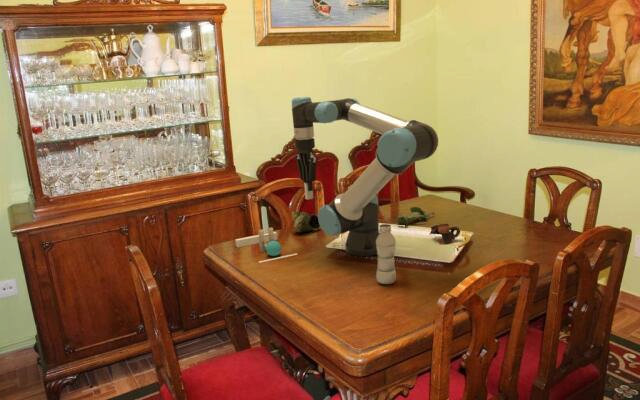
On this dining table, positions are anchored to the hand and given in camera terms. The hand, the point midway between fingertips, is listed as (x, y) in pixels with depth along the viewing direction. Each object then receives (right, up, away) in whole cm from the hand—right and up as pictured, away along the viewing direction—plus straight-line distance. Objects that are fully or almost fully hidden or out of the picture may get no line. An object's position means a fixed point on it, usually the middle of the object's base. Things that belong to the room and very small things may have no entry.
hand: (309, 198), depth 218 cm
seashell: (-2, -15, +29) cm, 33 cm away
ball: (-14, -20, +1) cm, 24 cm away
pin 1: (-19, -21, +8) cm, 30 cm away
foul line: (-12, -23, -1) cm, 26 cm away
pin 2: (-15, -21, +9) cm, 27 cm away
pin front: (-16, -21, +5) cm, 27 cm away
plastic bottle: (+26, -29, -31) cm, 49 cm away
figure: (+47, -11, +37) cm, 61 cm away
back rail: (-23, -19, +19) cm, 35 cm away
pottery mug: (+55, -17, +9) cm, 58 cm away
